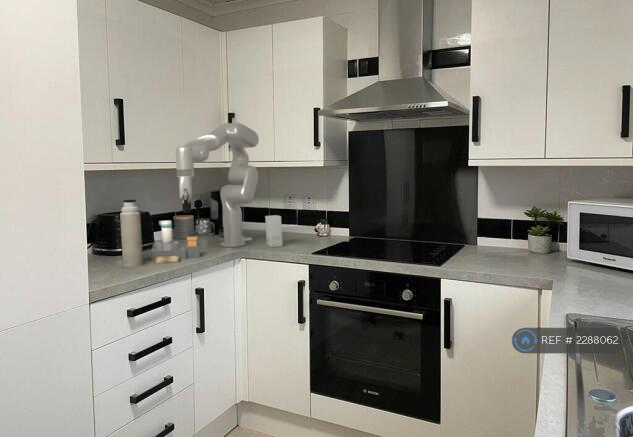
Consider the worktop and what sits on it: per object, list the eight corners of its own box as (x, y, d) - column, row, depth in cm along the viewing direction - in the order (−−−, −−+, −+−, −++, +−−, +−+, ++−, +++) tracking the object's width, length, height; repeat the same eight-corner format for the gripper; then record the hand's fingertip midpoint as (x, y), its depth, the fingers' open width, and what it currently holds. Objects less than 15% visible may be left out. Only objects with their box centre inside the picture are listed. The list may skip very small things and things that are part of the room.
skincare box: (282, 246, 258) (282, 216, 256) (270, 247, 255) (269, 216, 254) (277, 244, 266) (277, 214, 264) (265, 245, 263) (264, 215, 262)
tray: (179, 259, 228) (179, 255, 228) (179, 262, 221) (178, 258, 221) (156, 260, 226) (155, 257, 226) (155, 263, 219) (154, 260, 218)
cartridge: (173, 248, 234) (171, 219, 233) (172, 249, 230) (171, 221, 228) (160, 248, 233) (159, 220, 231) (160, 250, 228) (159, 221, 227)
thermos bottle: (119, 265, 216) (115, 199, 213) (136, 262, 222) (132, 198, 219) (129, 267, 211) (125, 200, 208) (146, 264, 217) (143, 199, 214)
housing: (199, 254, 240) (198, 239, 239) (199, 257, 231) (199, 242, 230) (152, 256, 235) (151, 241, 234) (151, 260, 225) (150, 245, 225)
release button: (197, 249, 237) (196, 236, 236) (197, 251, 233) (197, 237, 232) (187, 250, 236) (186, 237, 235) (187, 252, 231) (186, 238, 231)
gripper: (178, 173, 237) (179, 209, 239) (175, 174, 220) (177, 213, 222) (194, 173, 238) (196, 209, 240) (193, 174, 222) (194, 212, 224)
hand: (187, 211), depth 231 cm, fingers open, 9 cm apart
